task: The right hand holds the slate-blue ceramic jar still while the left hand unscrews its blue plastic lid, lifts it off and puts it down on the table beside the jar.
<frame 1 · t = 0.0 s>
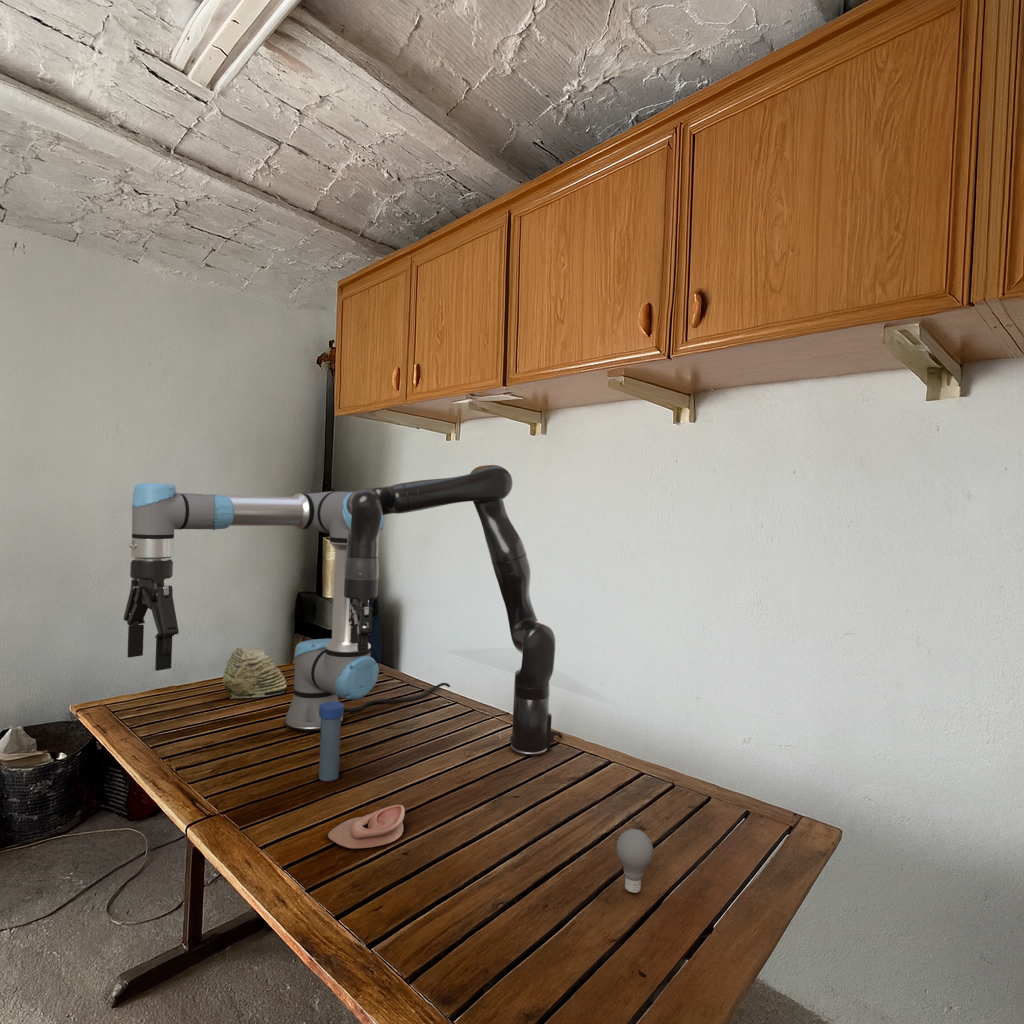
left hand: (148, 662, 129), 28 cm above the table, tool pointing down, fingers open, 13 cm apart
right hand: (358, 647, 145), 29 cm above the table, tool pointing down, fingers open, 8 cm apart
anatomical model: (366, 834, 120), on the table
jar: (328, 776, 143), on the table
lid: (331, 706, 143), point 16 cm above the table, screwed on, not yet turned
light bulb: (632, 891, 106), on the table
fossil: (254, 694, 198), on the table
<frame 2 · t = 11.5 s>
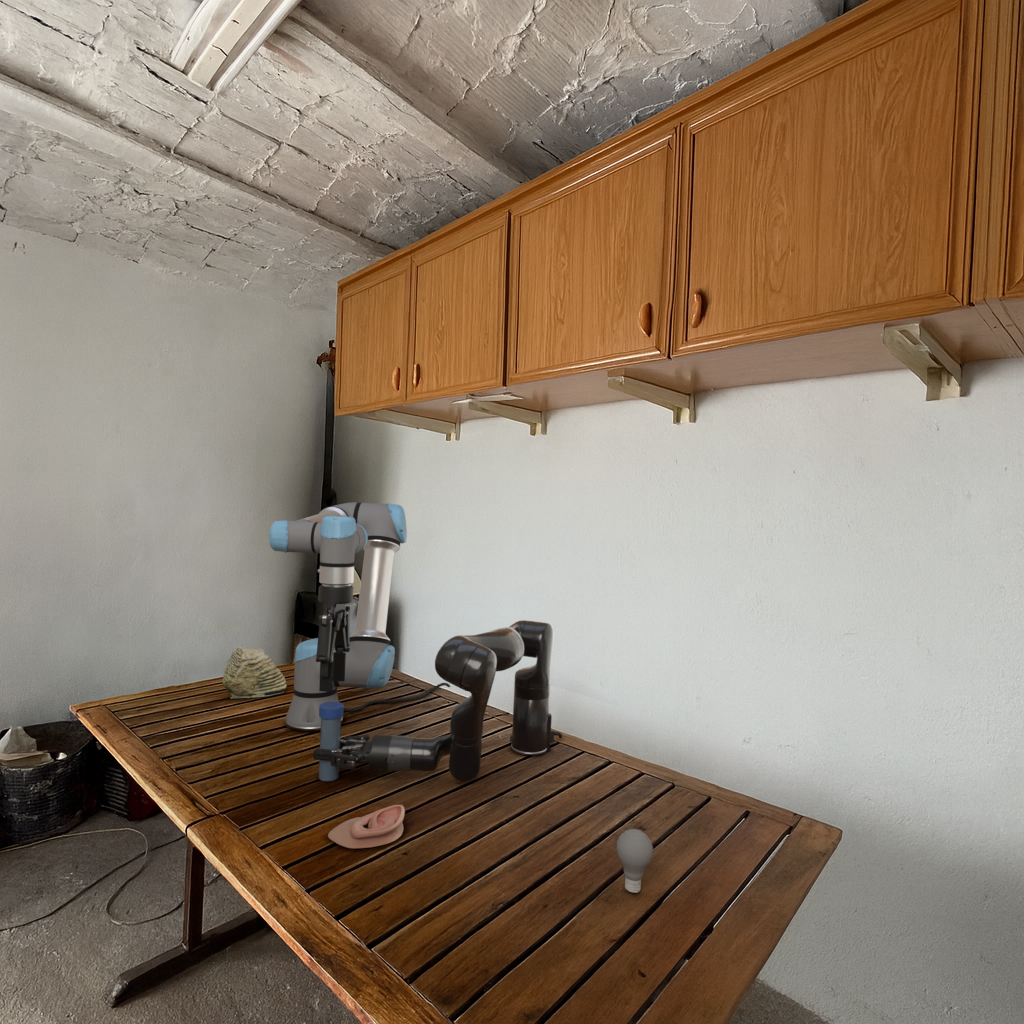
left hand: (332, 685, 143), 21 cm above the table, tool pointing down, fingers open, 7 cm apart
right hand: (318, 749, 143), 6 cm above the table, tool horizontal, fingers closed on jar, 4 cm apart
jar: (328, 776, 143), on the table, touching right hand
everything else where it was.
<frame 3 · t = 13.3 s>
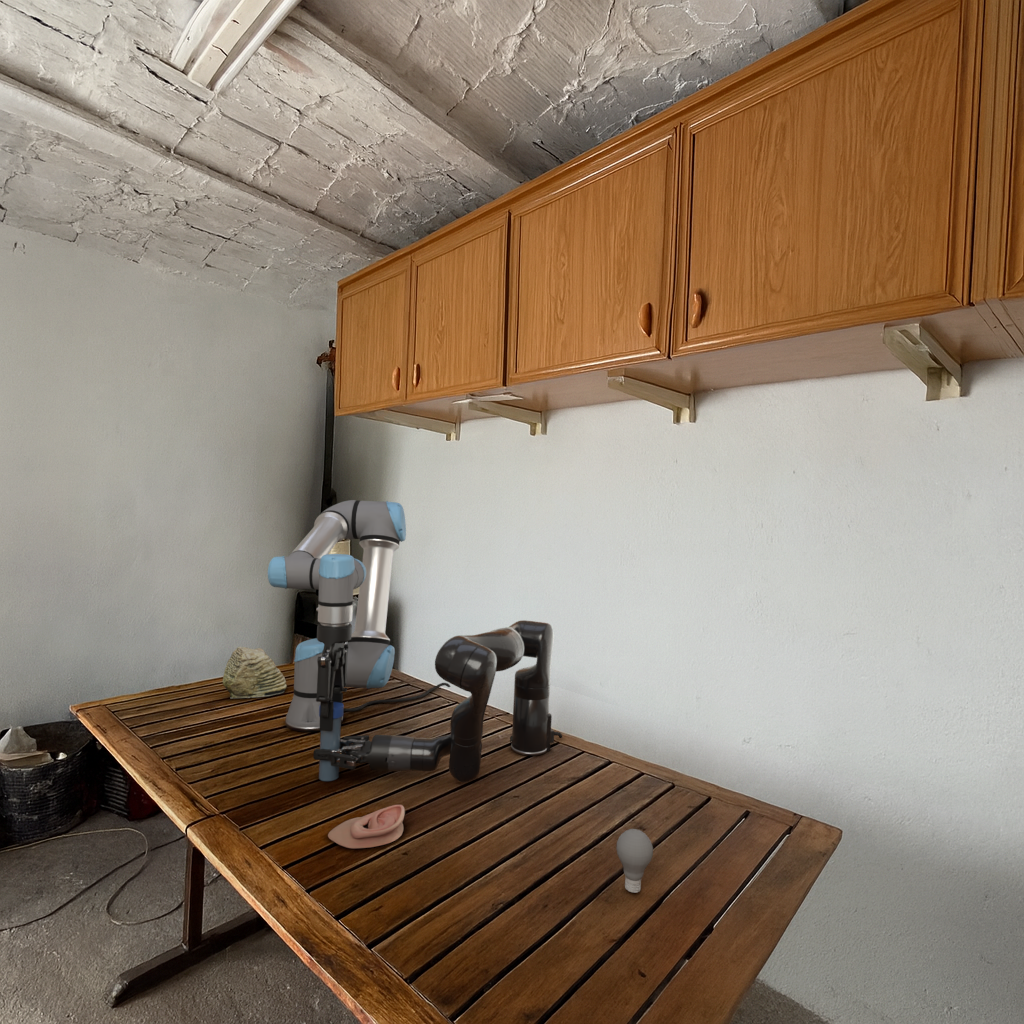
left hand: (330, 725, 143), 12 cm above the table, tool pointing down, fingers closed on lid, 5 cm apart
right hand: (318, 749, 143), 6 cm above the table, tool horizontal, fingers closed on jar, 4 cm apart
jar: (328, 776, 143), on the table, touching right hand
lid: (331, 707, 143), point 16 cm above the table, screwed on, not yet turned, touching left hand
everything else where it was.
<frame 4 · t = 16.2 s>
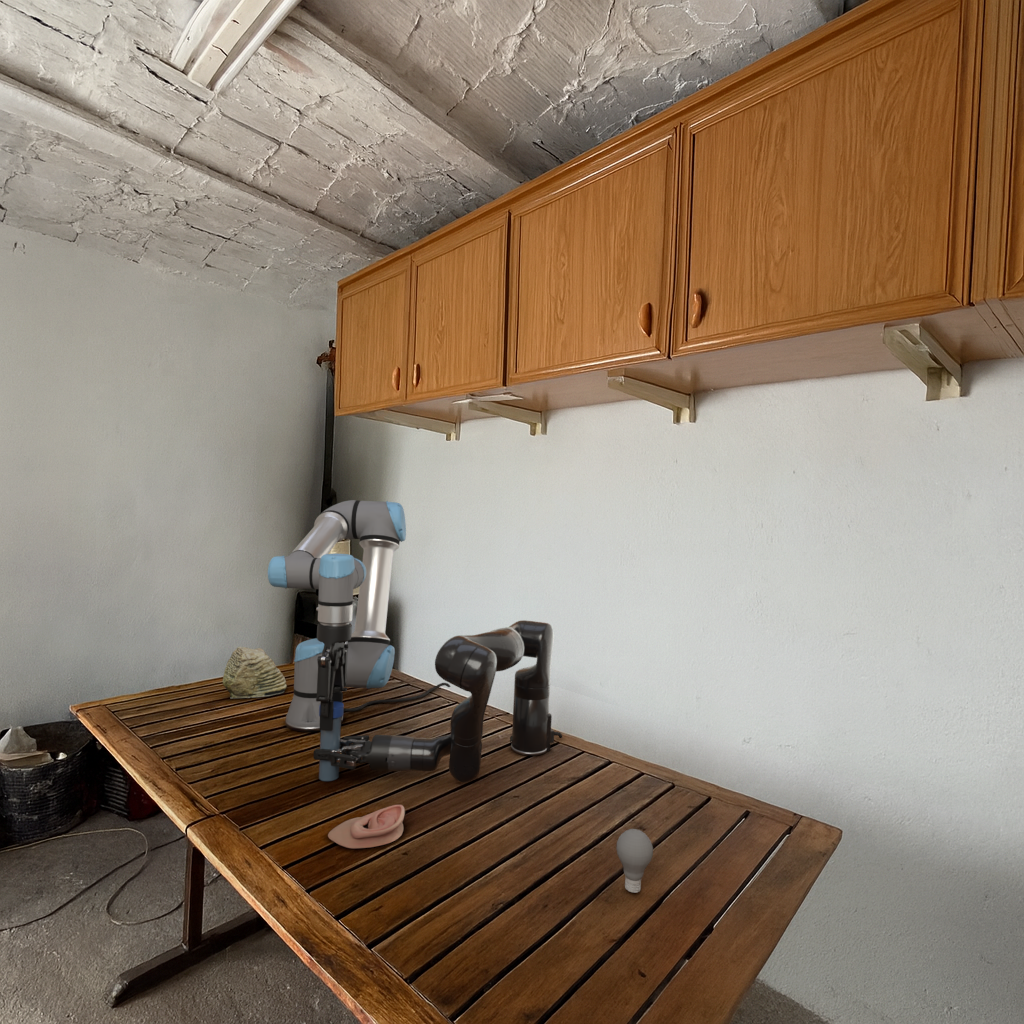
left hand: (330, 724, 143), 12 cm above the table, tool pointing down, fingers closed on lid, 5 cm apart
right hand: (318, 749, 143), 6 cm above the table, tool horizontal, fingers closed on jar, 4 cm apart
jar: (328, 776, 143), on the table, touching right hand
lid: (331, 706, 143), point 16 cm above the table, turned 77° so far, risen 0.1 cm, still on its thread, touching left hand
everything else where it was.
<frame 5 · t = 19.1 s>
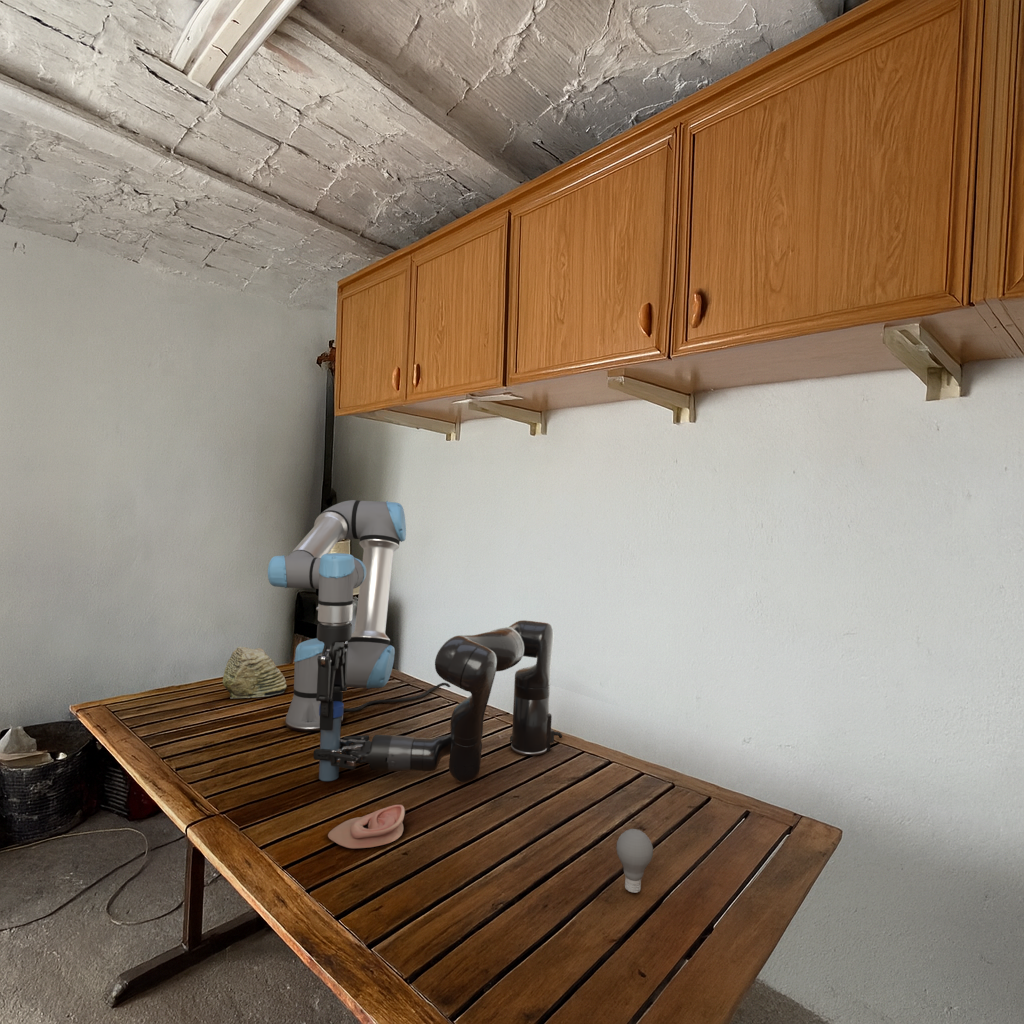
left hand: (330, 724, 143), 12 cm above the table, tool pointing down, fingers closed on lid, 5 cm apart
right hand: (318, 749, 143), 6 cm above the table, tool horizontal, fingers closed on jar, 4 cm apart
jar: (328, 776, 143), on the table, touching right hand
lid: (331, 706, 143), point 16 cm above the table, turned 153° so far, risen 0.2 cm, still on its thread, touching left hand
everything else where it was.
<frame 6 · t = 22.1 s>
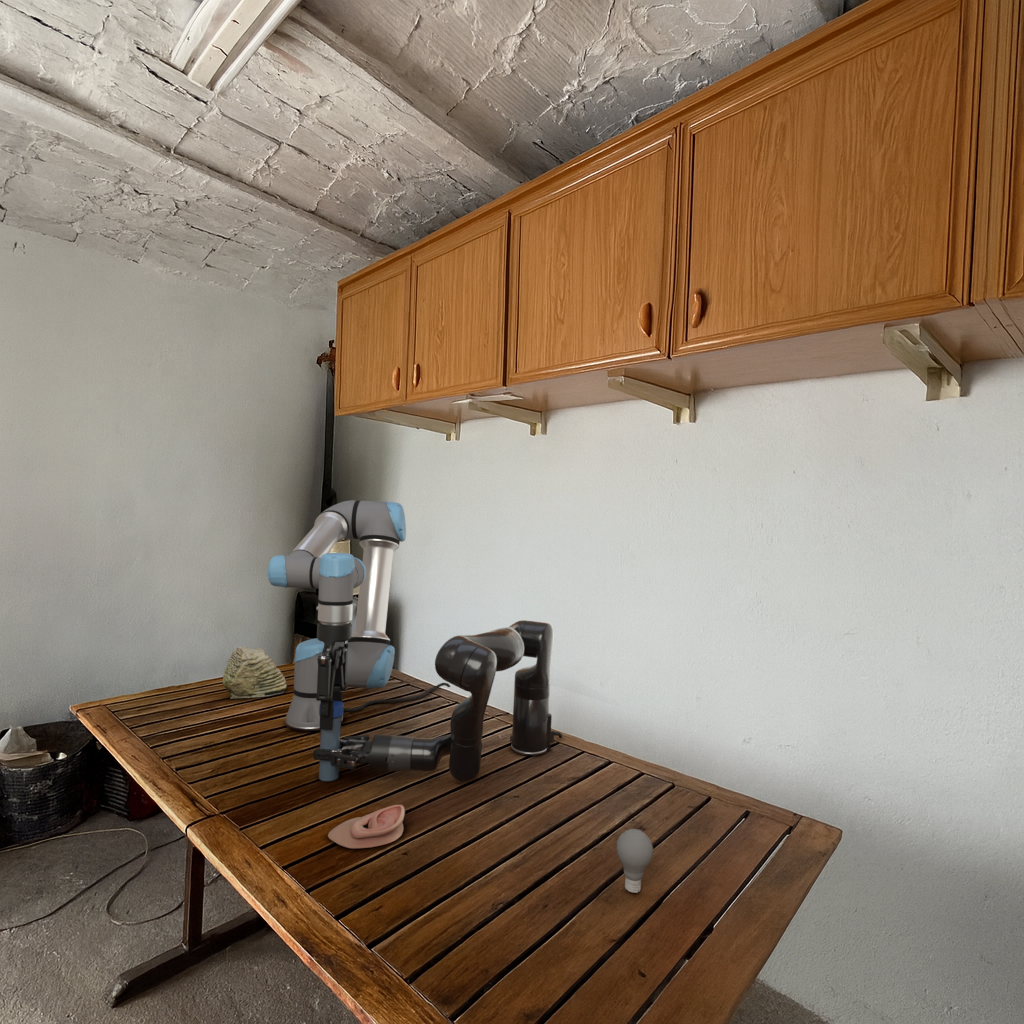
left hand: (330, 724, 143), 12 cm above the table, tool pointing down, fingers closed on lid, 5 cm apart
right hand: (318, 749, 143), 6 cm above the table, tool horizontal, fingers closed on jar, 4 cm apart
jar: (328, 776, 143), on the table, touching right hand
lid: (331, 705, 143), point 16 cm above the table, turned 230° so far, risen 0.3 cm, still on its thread, touching left hand
everything else where it was.
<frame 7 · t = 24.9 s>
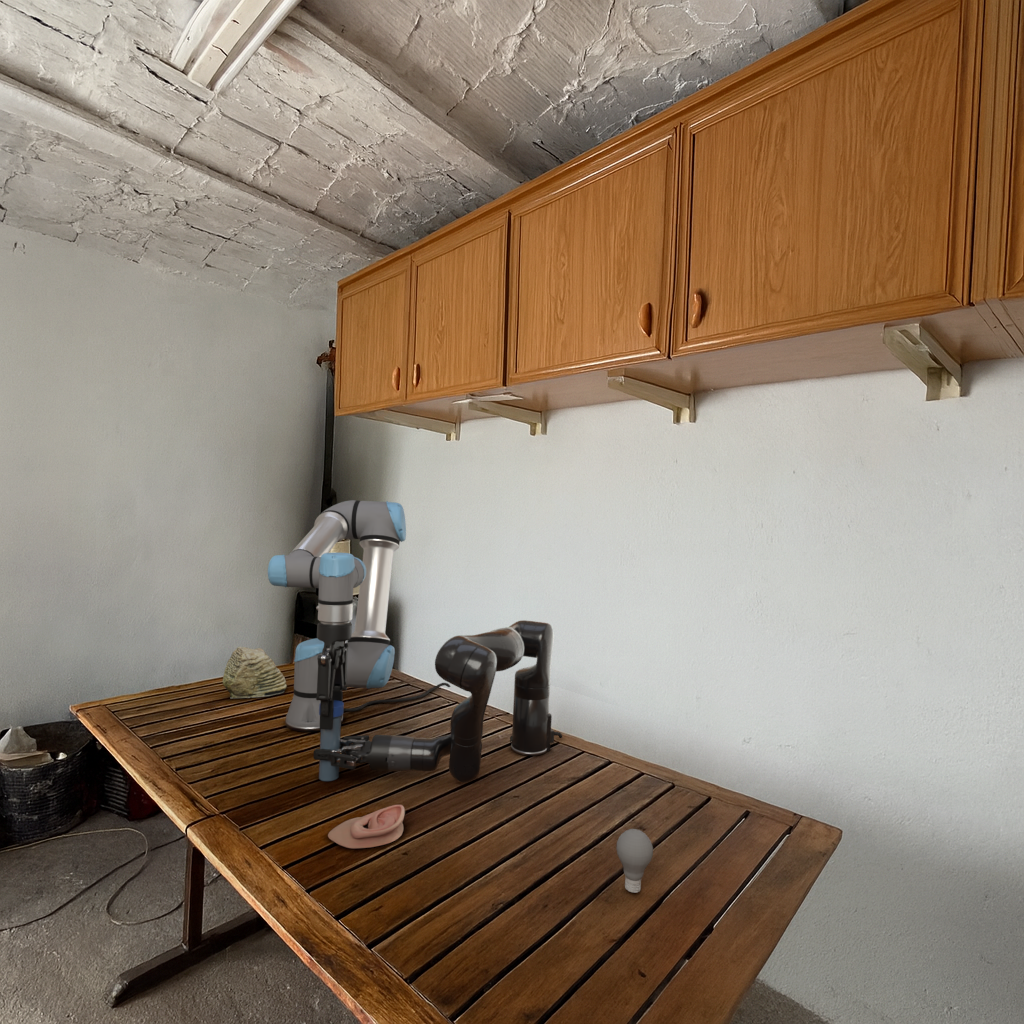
left hand: (330, 723, 143), 12 cm above the table, tool pointing down, fingers closed on lid, 5 cm apart
right hand: (318, 749, 143), 6 cm above the table, tool horizontal, fingers closed on jar, 4 cm apart
jar: (328, 776, 143), on the table, touching right hand
lid: (331, 705, 143), point 16 cm above the table, turned 306° so far, risen 0.3 cm, still on its thread, touching left hand
everything else where it was.
when the left hand's fingers open (0 cm above the table, at t = 31.5 s): lid drops 2 cm, point 2 cm above the table.
when the right hand's fingers open (6 cm above the table, at t = 32.0 s): jar stays where it is, on the table.
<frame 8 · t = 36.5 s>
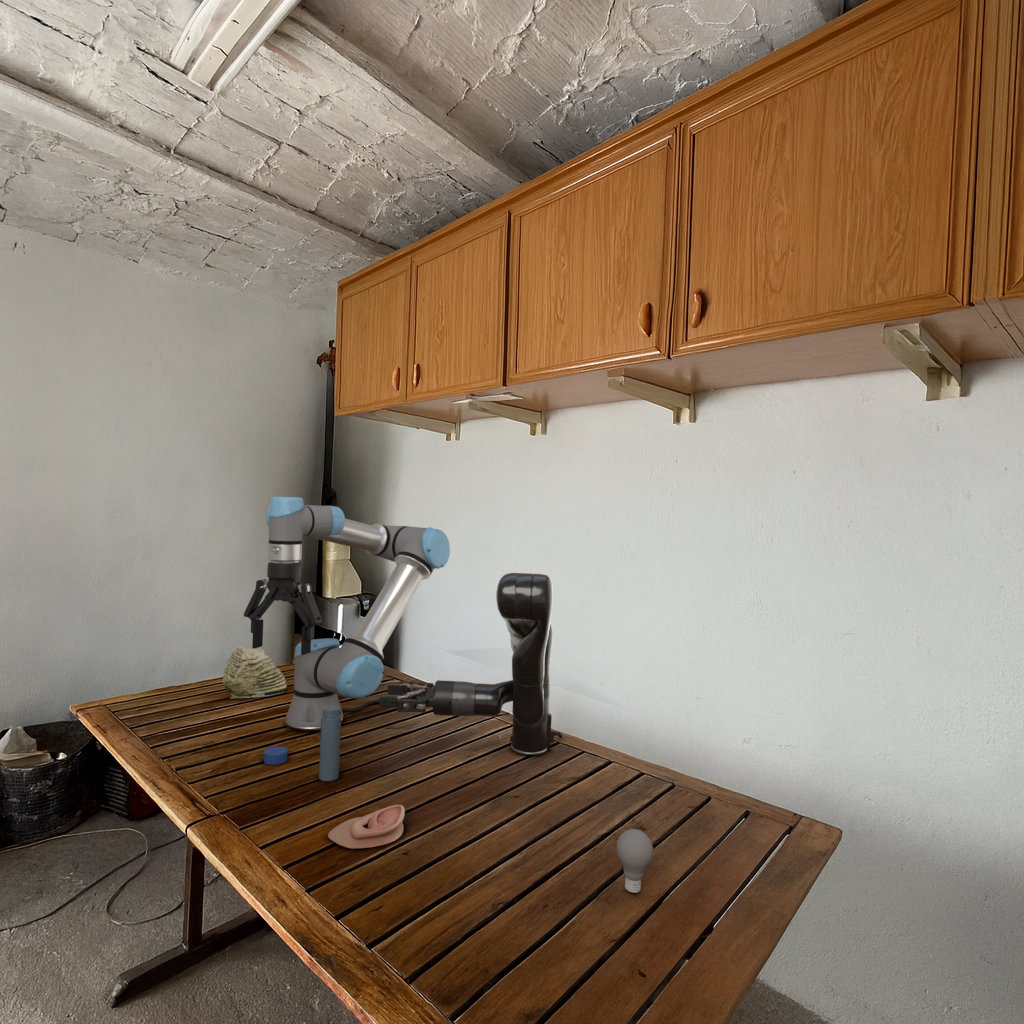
left hand: (281, 650, 151), 26 cm above the table, tool pointing down, fingers open, 13 cm apart
right hand: (383, 695, 143), 19 cm above the table, tool horizontal, fingers open, 8 cm apart
jar: (328, 776, 143), on the table
lid: (275, 752, 151), point 2 cm above the table, off its thread
everything else where it was.
at the end: lid came off its thread; lid point 1.8 cm above the table; the left hand is holding nothing; the right hand is holding nothing; jar tilted 0°; jar moved 0.0 cm from its start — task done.
